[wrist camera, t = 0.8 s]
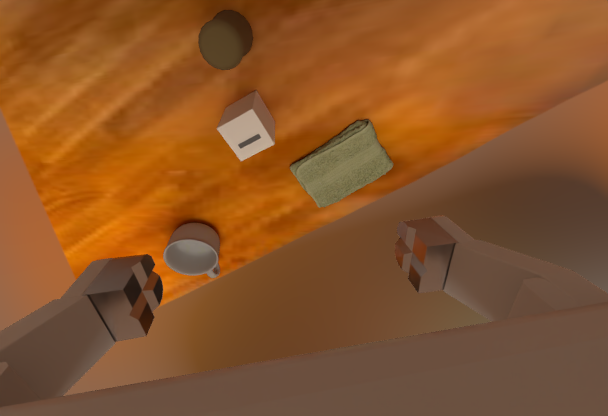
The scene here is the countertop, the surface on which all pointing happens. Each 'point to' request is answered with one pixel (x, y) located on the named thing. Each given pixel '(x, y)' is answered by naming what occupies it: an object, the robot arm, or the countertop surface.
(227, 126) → the cream marked block
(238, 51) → the dark brown tapered piece
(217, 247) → the teacup
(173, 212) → the countertop surface
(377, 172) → the washcloth
